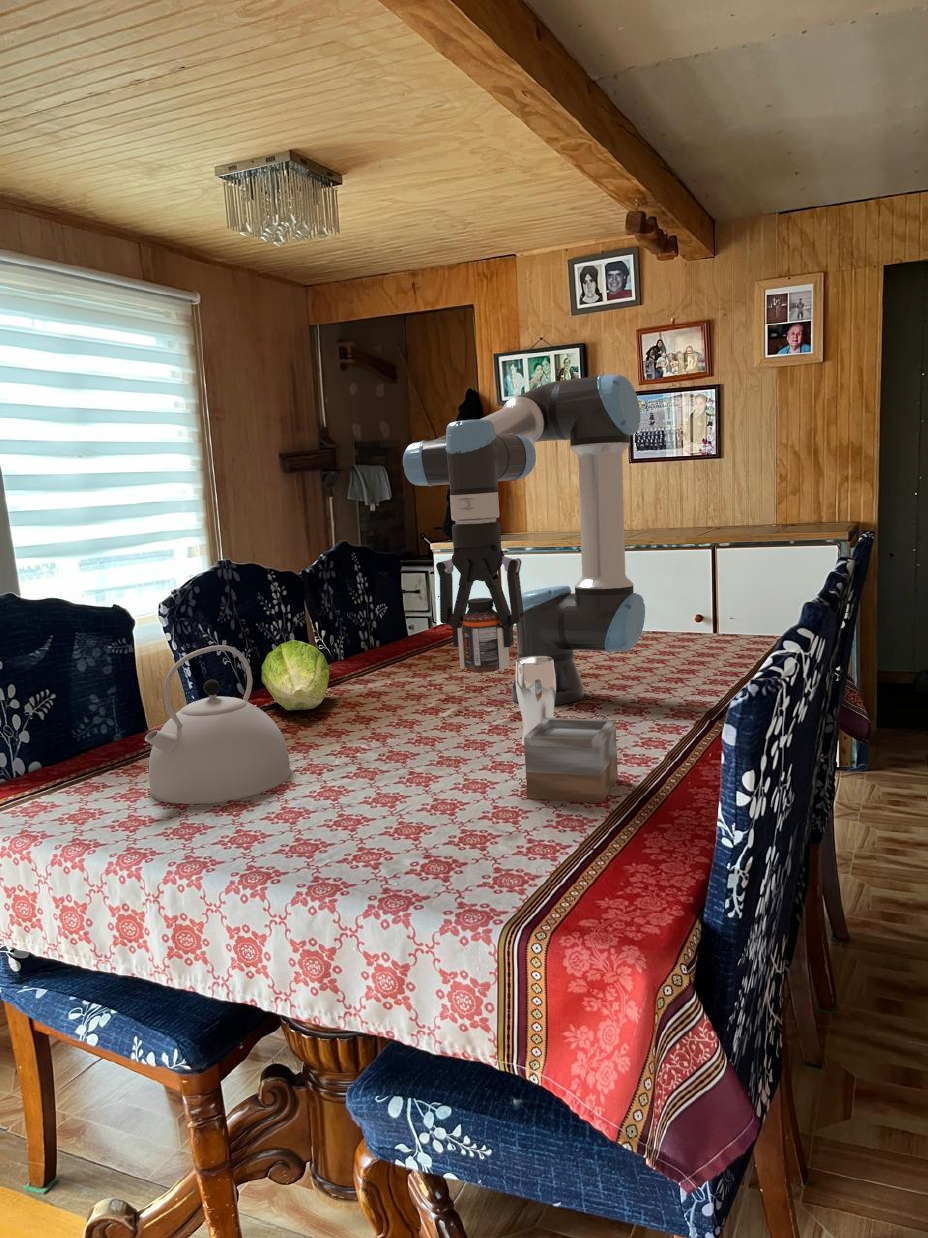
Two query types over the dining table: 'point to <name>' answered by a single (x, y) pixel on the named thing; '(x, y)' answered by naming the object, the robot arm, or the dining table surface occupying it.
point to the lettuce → (296, 675)
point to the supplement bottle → (481, 636)
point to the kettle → (215, 746)
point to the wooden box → (571, 759)
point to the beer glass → (535, 690)
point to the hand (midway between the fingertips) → (484, 666)
